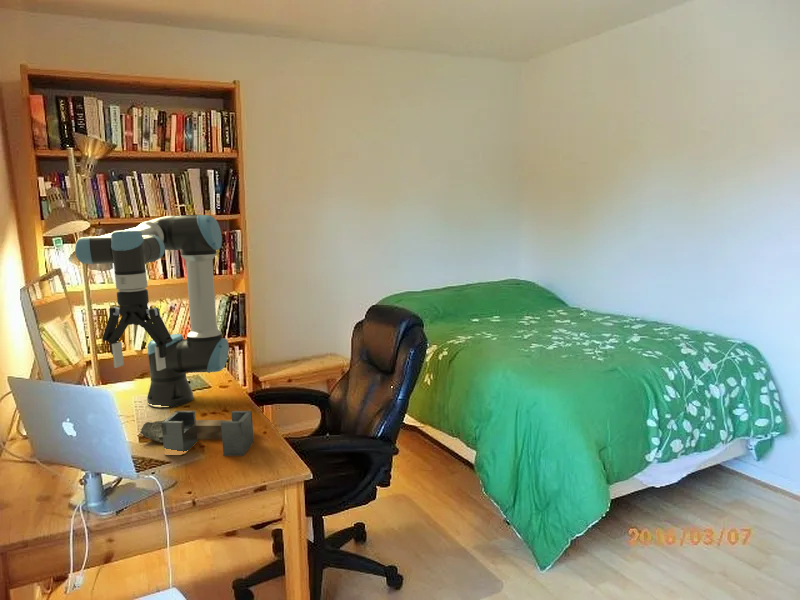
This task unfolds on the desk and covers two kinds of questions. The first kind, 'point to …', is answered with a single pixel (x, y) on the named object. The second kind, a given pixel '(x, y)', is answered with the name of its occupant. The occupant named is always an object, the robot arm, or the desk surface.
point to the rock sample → (153, 431)
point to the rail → (209, 429)
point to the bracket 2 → (237, 433)
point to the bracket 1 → (180, 431)
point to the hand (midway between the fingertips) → (140, 367)
